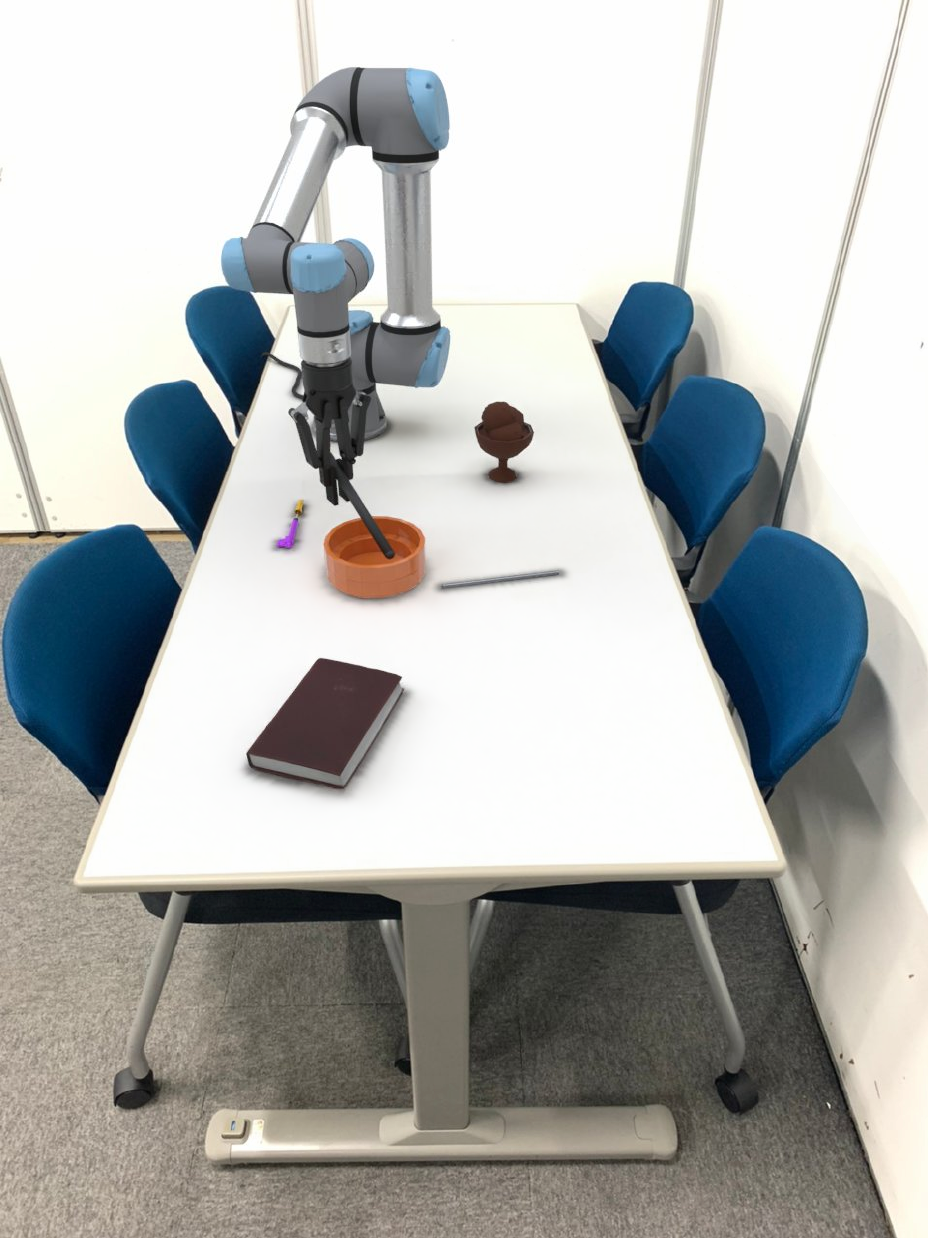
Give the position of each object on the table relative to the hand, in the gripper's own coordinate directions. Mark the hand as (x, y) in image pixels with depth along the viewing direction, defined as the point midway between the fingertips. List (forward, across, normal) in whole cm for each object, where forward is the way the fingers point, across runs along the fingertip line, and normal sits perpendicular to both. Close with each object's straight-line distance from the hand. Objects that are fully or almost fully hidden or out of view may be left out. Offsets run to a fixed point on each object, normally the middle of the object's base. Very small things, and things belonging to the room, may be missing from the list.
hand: (338, 499), depth 145 cm
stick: (-2, 0, -7) cm, 7 cm away
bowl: (+8, 0, -12) cm, 14 cm away
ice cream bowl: (+8, +37, +4) cm, 38 cm away
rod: (+8, +15, -24) cm, 30 cm away
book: (+8, -23, -40) cm, 47 cm away
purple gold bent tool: (+8, -5, +10) cm, 13 cm away
